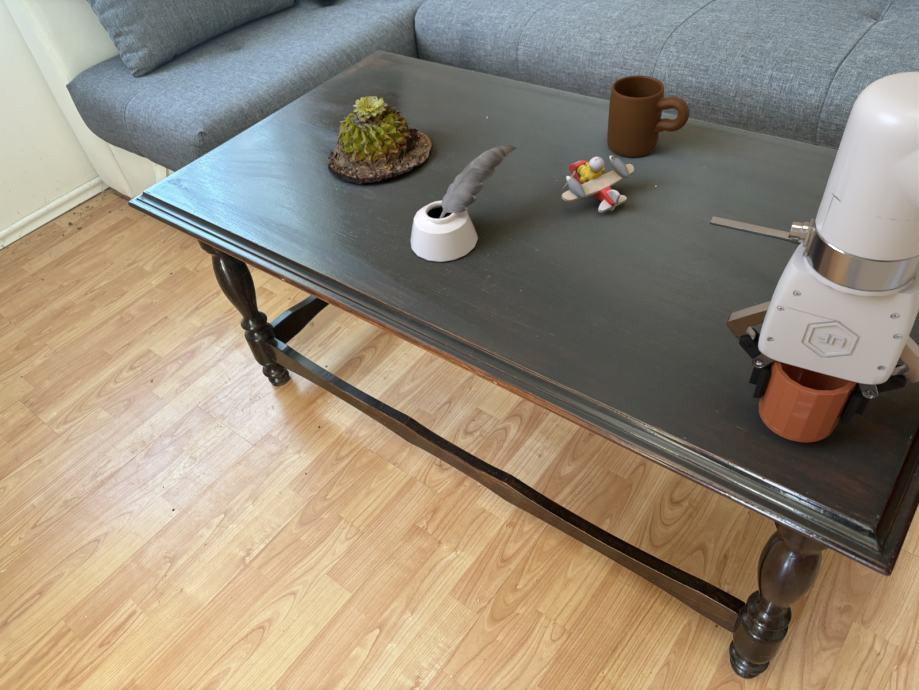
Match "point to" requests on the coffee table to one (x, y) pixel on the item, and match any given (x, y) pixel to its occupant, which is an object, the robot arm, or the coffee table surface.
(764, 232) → the knife
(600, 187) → the toy airplane
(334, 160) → the cactus
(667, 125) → the mug
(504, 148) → the inkwell
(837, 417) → the pot
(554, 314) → the coffee table surface
